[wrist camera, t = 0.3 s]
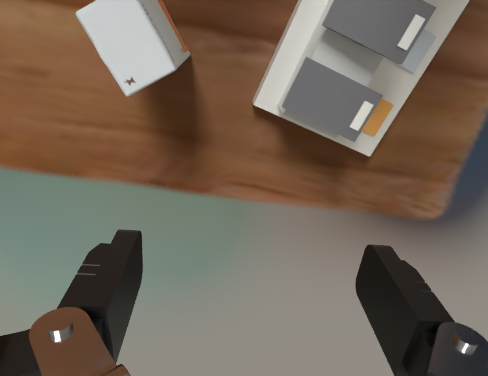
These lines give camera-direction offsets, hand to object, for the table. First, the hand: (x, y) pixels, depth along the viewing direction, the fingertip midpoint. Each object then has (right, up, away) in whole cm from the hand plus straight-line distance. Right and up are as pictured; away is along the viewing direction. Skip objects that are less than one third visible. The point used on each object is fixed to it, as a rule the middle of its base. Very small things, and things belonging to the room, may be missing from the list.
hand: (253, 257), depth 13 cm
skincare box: (-9, +17, +22) cm, 29 cm away
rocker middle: (+10, +16, +15) cm, 24 cm away
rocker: (+7, +10, +18) cm, 22 cm away
